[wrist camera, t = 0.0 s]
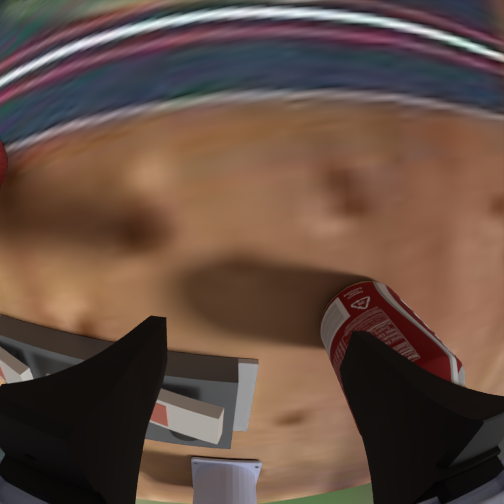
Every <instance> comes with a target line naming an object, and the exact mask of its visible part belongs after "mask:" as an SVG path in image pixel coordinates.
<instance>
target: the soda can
mask: <svg viewBox="0 0 504 504" xmlns="http://www.w3.org/2000/svg"><path fill="white" fill-rule="evenodd" d="M319 330H320V336H321V339H322V342H323V344H324V347H325V349H326V351H327V354H328V356H329V359H330V361H331V363H332V366H333V368H334V371H335V373H336V376H337V378H338V380H339V383H340V385H341V388H342V390H343V393H344V395H345V392H344V389H343V385H342V381H341V376H340V371H339V369H340V366H341V364H342V361H343V358H344V355H345V352H346V349H347V346H348V343H349V340H350V336H351V333H352V331H367V332H369V333H371V334H372V335H374V336H375V337H377V338H378V339H380V340H381V341H383V342H384V343H386V344H387V345H388V346H390V347H391V348H393V349H394V350H396V351H397V352H398V353H400V354H401V355H403V356H404V357H406V358H407V359H409V360H410V361H412V362H414V363H415V364H417V365H418V366H420V367H422V368H423V369H425V370H427V371H429V372H431V373H433V374H435V375H437V376H439V377H441V378H443V379H445V380H447V381H449V382H452V383H455V384H457V385H460V386H462V387H465V372H464V367H463V365H462V363H461V362H460V360H459V359H458V358H457V357H456V356H455V355H454V354H453V353H452V352H451V350H450V349H449V348H448V347H447V346H446V345H445V344H444V343H443V342H442V341H441V340H440V339H439V337H438V336H437V335H436V334H435V333H434V332H433V331H432V330H431V329H430V328H429V327H428V326H427V325H426V324H425V323H424V322H423V321H422V320H421V319H420V318H419V317H418V315H417V314H416V313H415V312H414V311H413V310H412V309H411V308H410V307H409V306H408V305H407V304H406V303H405V302H404V301H403V300H402V299H401V298H400V297H399V296H398V295H397V294H396V293H395V292H394V291H393V290H392V289H391V288H389V287H388V286H386V285H385V284H383V283H380V282H376V281H363V282H358V283H355V284H352V285H350V286H348V287H346V288H345V289H343V290H341V291H340V292H339V293H338V294H336V295H335V296H334V297H333V298H332V299H331V301H330V302H329V303H328V305H327V306H326V308H325V309H324V311H323V314H322V316H321V320H320V327H319ZM465 388H466V387H465ZM345 398H346V400H347V397H346V395H345ZM347 403H348V405H349V402H348V400H347ZM349 408H350V410H351V407H350V405H349ZM351 413H352V415H353V412H352V410H351ZM353 418H354V420H355V417H354V415H353ZM355 423H356V426H357V428H358V431H359V433H360V430H359V427H358V425H357V422H356V420H355ZM360 435H361V433H360Z"/></svg>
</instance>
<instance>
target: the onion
mask: <svg viewBox="0 0 504 504" xmlns="http://www.w3.org/2000/svg"><path fill="white" fill-rule="evenodd" d="M7 167H8V165H7V155H6V151H5V148H4V145H3V143H2V142H1V141H0V188H1V185H2V183H3V181H4V179H5V175H6V171H7Z"/></svg>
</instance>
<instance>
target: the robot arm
mask: <svg viewBox="0 0 504 504" xmlns="http://www.w3.org/2000/svg"><path fill="white" fill-rule="evenodd" d="M167 361H168V356H167V328H166V317H158V316H149V317H148V318H147V319H146V320H144V321H143V322H142V323H140V324H139V325H138V326H137V327H135V328H134V329H133V330H132V331H130V332H129V333H128V334H126V335H125V336H124V337H122V338H121V339H120V340H118V341H117V342H115V343H114V344H112V345H111V346H109V347H108V348H106V349H105V350H103V351H101V352H100V353H98V354H96V355H95V356H93V357H91V358H89V359H87V360H85V361H83V362H81V363H79V364H77V365H74V366H72V367H69V368H67V369H64V370H62V371H59V372H56V373H53V374H50V375H47V376H43V377H40V378H36V379H32V380H27V381H21V382H14V383H8V384H2V385H1V386H0V448H1V449H2V451H3V452H4V453H5V455H4V457H3V459H2V461H1V460H0V504H135V500H136V491H137V483H138V475H139V468H140V462H141V456H142V451H143V445H144V440H145V435H146V431H147V428H148V424H149V421H150V419H151V416H152V413H153V410H154V407H155V404H156V401H157V398H158V395H159V393H160V390H161V387H162V384H163V380H164V376H165V371H166V366H167ZM339 371H340V376H341V381H342V385H343V389H344V392H345V395H346V397H347V400H348V402H349V405H350V407H351V410H352V412H353V415H354V417H355V420H356V422H357V425H358V427H359V430H360V433H361V436H362V439H363V442H364V446H365V451H366V455H367V459H368V465H369V470H370V475H371V483H372V491H373V501H374V504H504V457H503V458H502V459H501V460H499V458H498V457H497V455H499V454H500V452H501V450H500V449H499V447H498V446H497V445H498V444H499V443H500V442H501V441H502V439H503V438H504V396H498V395H492V394H487V393H483V392H479V391H475V390H472V389H468V388H465V387H462V386H460V385H457V384H455V383H452V382H449V381H447V380H445V379H443V378H441V377H439V376H437V375H435V374H433V373H431V372H429V371H427V370H425V369H423V368H422V367H420V366H418V365H417V364H415V363H414V362H412V361H410V360H409V359H407V358H406V357H404V356H403V355H401V354H400V353H398V352H397V351H396V350H394V349H393V348H391V347H390V346H388V345H387V344H386V343H384V342H383V341H381V340H380V339H378V338H377V337H375V336H374V335H372V334H371V333H369V332H367V331H352V333H351V336H350V340H349V343H348V346H347V349H346V352H345V355H344V358H343V361H342V364H341V366H340V369H339ZM191 466H192V479H193V490H194V494H193V504H257V502H256V487H255V486H256V482H257V479H258V476H259V473H260V469H261V466H262V462H261V461H247V460H225V459H212V458H201V457H192V458H191Z"/></svg>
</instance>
